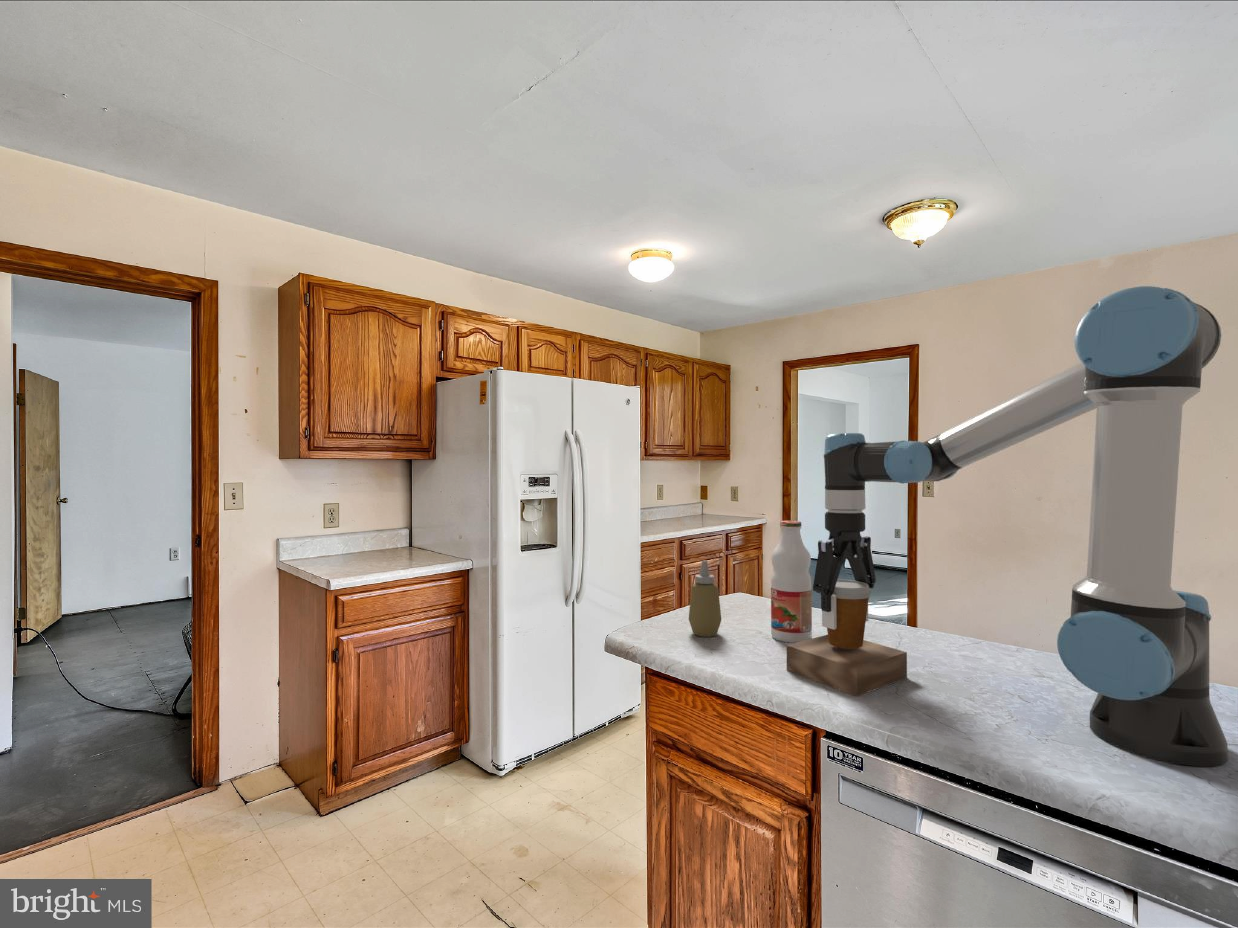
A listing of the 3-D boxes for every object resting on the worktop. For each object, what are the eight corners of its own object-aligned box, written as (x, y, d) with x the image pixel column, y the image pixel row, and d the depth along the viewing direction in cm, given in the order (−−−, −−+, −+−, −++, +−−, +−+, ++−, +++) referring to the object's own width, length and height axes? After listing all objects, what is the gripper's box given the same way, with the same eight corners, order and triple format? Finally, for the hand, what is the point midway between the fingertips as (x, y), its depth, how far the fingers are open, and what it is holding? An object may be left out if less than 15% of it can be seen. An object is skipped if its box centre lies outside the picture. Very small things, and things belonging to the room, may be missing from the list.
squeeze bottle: (724, 638, 138) (723, 563, 138) (690, 638, 138) (689, 563, 138) (718, 629, 146) (718, 558, 146) (687, 629, 146) (686, 558, 146)
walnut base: (906, 677, 113) (906, 652, 113) (856, 696, 104) (856, 668, 104) (836, 655, 126) (836, 632, 126) (786, 669, 117) (786, 645, 117)
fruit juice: (819, 642, 135) (818, 522, 135) (781, 644, 133) (780, 523, 133) (800, 631, 144) (799, 519, 144) (764, 632, 143) (764, 519, 143)
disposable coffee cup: (876, 652, 109) (876, 589, 109) (823, 649, 111) (823, 587, 111) (865, 638, 119) (865, 579, 119) (817, 635, 120) (816, 578, 121)
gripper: (861, 507, 124) (862, 611, 124) (792, 512, 112) (793, 628, 112) (894, 509, 118) (895, 619, 118) (825, 515, 106) (825, 637, 106)
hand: (845, 623), depth 115 cm, fingers closed on disposable coffee cup, 9 cm apart
